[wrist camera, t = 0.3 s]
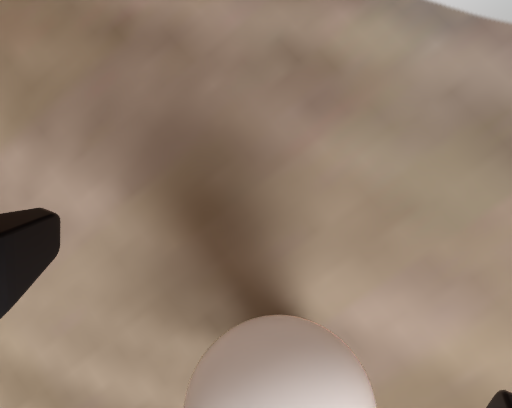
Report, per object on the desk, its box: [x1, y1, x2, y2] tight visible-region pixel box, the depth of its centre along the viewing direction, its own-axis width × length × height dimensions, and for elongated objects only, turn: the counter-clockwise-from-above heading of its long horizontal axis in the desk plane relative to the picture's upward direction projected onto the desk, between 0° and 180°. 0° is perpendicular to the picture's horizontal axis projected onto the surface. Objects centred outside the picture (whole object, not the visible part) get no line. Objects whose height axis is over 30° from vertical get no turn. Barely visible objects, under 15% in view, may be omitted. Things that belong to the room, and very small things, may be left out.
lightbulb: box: [184, 315, 377, 408], centre depth 18 cm, size 6×6×11 cm
